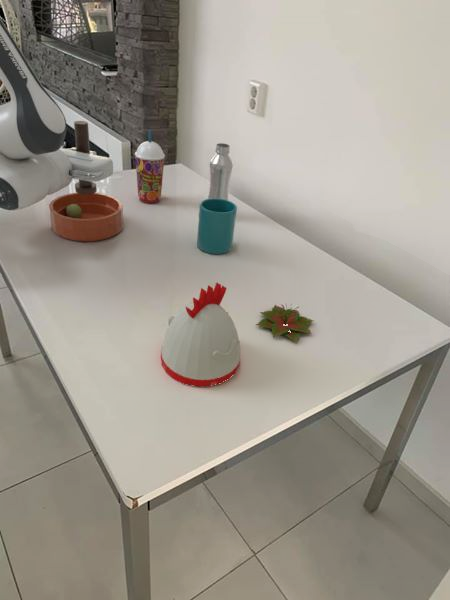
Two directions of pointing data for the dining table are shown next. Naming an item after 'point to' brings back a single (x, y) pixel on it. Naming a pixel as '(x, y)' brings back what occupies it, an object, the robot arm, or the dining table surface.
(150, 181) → the smoothie
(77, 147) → the masher
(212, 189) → the silver bottle
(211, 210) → the cup
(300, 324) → the green leafy plant
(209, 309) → the kitchen timer
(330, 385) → the dining table surface
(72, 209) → the green ball
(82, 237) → the bowl
